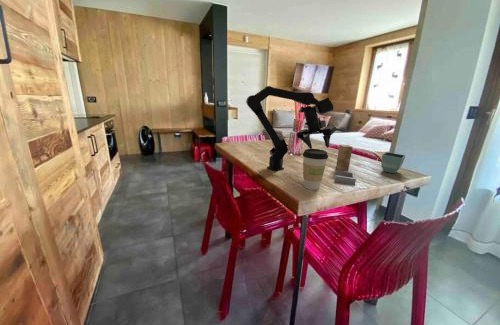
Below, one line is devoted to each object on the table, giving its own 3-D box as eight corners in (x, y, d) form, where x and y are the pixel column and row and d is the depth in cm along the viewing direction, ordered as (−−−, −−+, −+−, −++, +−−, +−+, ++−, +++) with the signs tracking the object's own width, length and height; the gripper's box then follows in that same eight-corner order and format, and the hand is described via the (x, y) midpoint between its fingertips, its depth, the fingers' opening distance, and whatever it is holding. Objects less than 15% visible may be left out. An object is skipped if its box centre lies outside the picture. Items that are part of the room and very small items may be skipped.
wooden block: (339, 171, 108) (343, 146, 105) (335, 169, 113) (339, 144, 109) (348, 172, 108) (352, 146, 105) (344, 169, 113) (348, 144, 109)
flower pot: (401, 171, 112) (405, 155, 109) (398, 175, 105) (402, 158, 103) (382, 167, 117) (386, 151, 115) (378, 171, 111) (381, 154, 109)
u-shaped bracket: (334, 181, 96) (335, 176, 95) (335, 174, 104) (336, 169, 103) (355, 184, 93) (356, 179, 92) (354, 177, 101) (355, 172, 100)
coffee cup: (320, 193, 83) (325, 155, 78) (295, 187, 88) (299, 151, 83) (326, 185, 91) (331, 150, 86) (303, 180, 96) (307, 147, 91)
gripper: (337, 109, 102) (344, 140, 107) (303, 116, 116) (310, 142, 121) (326, 117, 95) (334, 149, 100) (292, 123, 109) (300, 151, 114)
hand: (319, 148), depth 109 cm, fingers open, 9 cm apart
